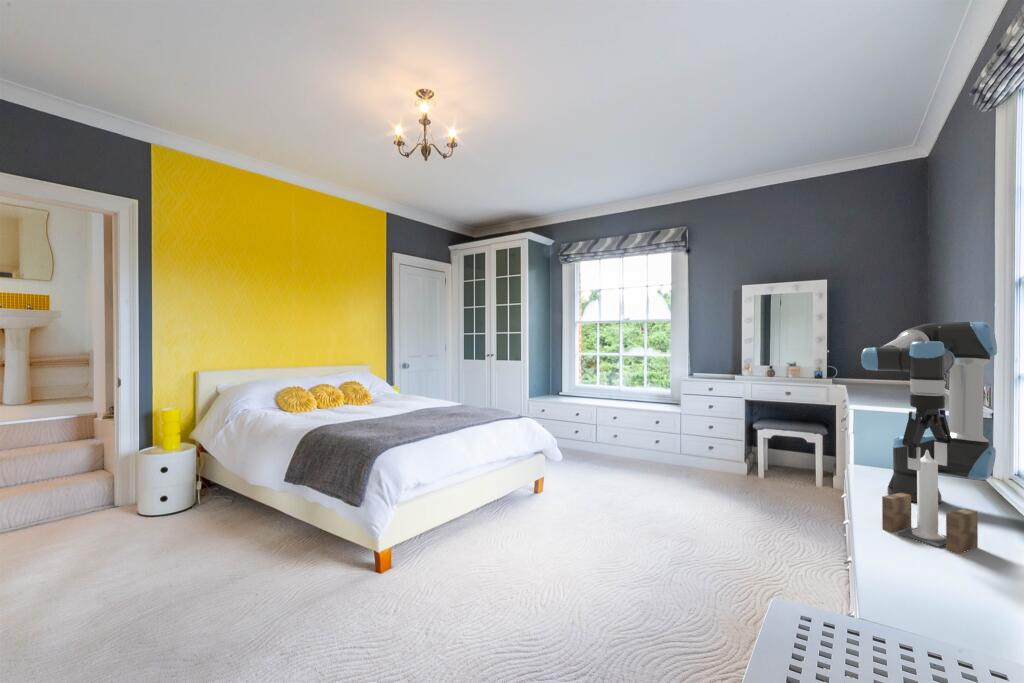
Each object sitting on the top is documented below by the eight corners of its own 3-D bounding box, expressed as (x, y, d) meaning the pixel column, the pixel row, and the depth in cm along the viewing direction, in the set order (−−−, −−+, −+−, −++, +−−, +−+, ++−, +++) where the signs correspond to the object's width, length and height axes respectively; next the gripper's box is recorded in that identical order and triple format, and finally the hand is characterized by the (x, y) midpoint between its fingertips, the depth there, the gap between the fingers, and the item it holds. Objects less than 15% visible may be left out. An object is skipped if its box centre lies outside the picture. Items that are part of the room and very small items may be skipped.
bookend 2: (966, 544, 130) (965, 508, 131) (977, 547, 128) (977, 511, 128) (946, 550, 127) (946, 513, 127) (958, 553, 124) (957, 516, 124)
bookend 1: (901, 524, 145) (901, 492, 145) (911, 527, 142) (911, 494, 143) (882, 529, 141) (882, 496, 141) (891, 532, 138) (891, 498, 139)
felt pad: (918, 528, 141) (918, 527, 141) (960, 541, 132) (960, 539, 132) (896, 534, 137) (896, 532, 137) (938, 547, 128) (938, 546, 128)
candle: (950, 542, 130) (950, 453, 131) (921, 539, 132) (921, 451, 132) (933, 532, 137) (932, 447, 138) (906, 530, 139) (905, 446, 139)
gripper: (935, 391, 143) (935, 459, 143) (886, 394, 134) (887, 468, 133) (966, 393, 136) (967, 465, 136) (917, 397, 127) (918, 475, 127)
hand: (927, 467), depth 135 cm, fingers open, 13 cm apart
